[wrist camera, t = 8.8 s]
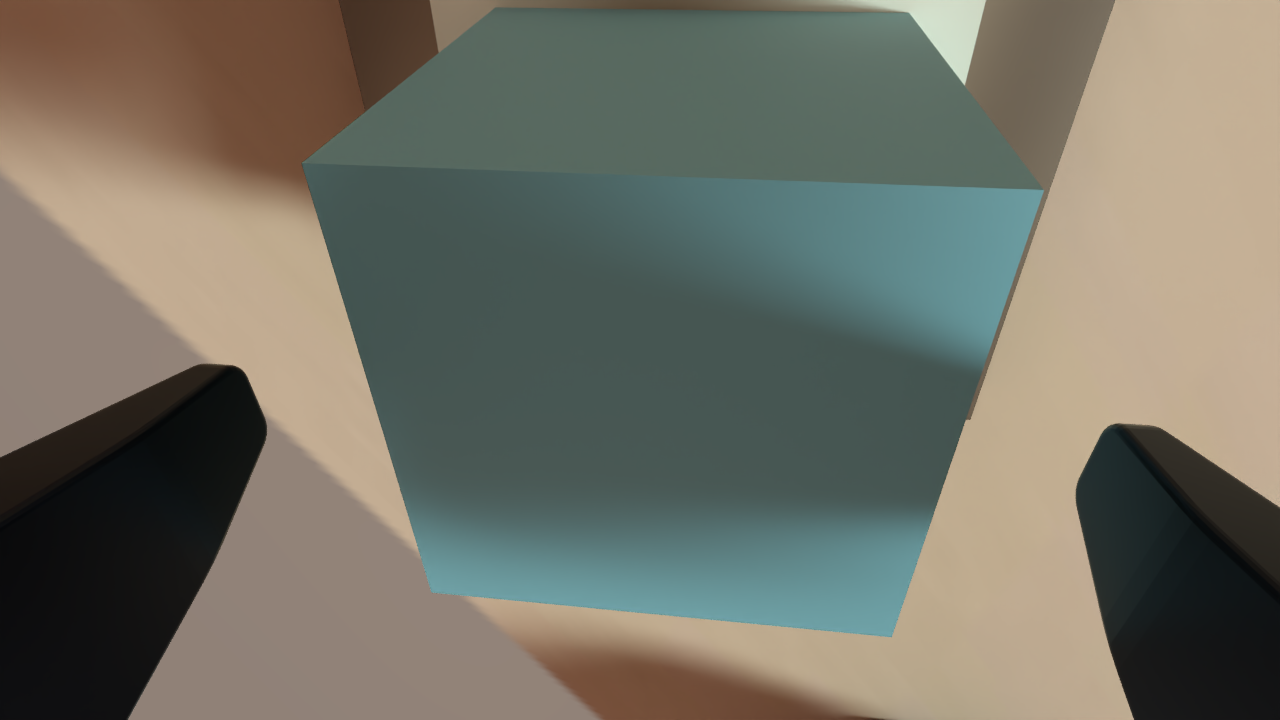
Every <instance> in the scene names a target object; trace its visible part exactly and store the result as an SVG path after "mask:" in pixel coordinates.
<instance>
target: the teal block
mask: <svg viewBox="0 0 1280 720" xmlns="http://www.w3.org/2000/svg"><path fill="white" fill-rule="evenodd" d="M302 167H303V170H304V173H305V176H306V180H307V183H308V186H309V190H310V193H311V196H312V200H313V203H314V206H315V209H316V213H317V216H318V219H319V223H320V226H321V229H322V232H323V236H324V239H325V242H326V246H327V249H328V252H329V256H330V259H331V262H332V265H333V269H334V272H335V275H336V279H337V282H338V285H339V289H340V292H341V295H342V298H343V302H344V305H345V308H346V312H347V315H348V318H349V322H350V325H351V328H352V331H353V335H354V338H355V341H356V345H357V348H358V351H359V355H360V358H361V361H362V364H363V368H364V371H365V374H366V378H367V381H368V384H369V388H370V391H371V394H372V397H373V401H374V404H375V407H376V411H377V414H378V417H379V421H380V424H381V427H382V430H383V434H384V437H385V440H386V444H387V447H388V450H389V454H390V457H391V460H392V463H393V467H394V470H395V473H396V477H397V480H398V483H399V486H400V490H401V493H402V496H403V500H404V503H405V506H406V510H407V513H408V516H409V519H410V523H411V526H412V529H413V533H414V536H415V539H416V543H417V546H418V549H419V552H420V556H421V559H422V562H423V566H424V569H425V572H426V576H427V579H428V582H429V585H430V589H431V592H434V593H443V594H454V595H463V596H473V597H484V598H494V599H504V600H515V601H525V602H535V603H545V604H556V605H566V606H576V607H587V608H597V609H607V610H617V611H628V612H638V613H648V614H659V615H669V616H679V617H689V618H700V619H710V620H720V621H731V622H741V623H751V624H761V625H772V626H782V627H792V628H803V629H813V630H823V631H833V632H844V633H854V634H864V635H875V636H885V637H892V634H893V631H894V628H895V626H896V623H897V620H898V617H899V614H900V611H901V608H902V605H903V602H904V599H905V596H906V593H907V590H908V587H909V584H910V582H911V579H912V576H913V573H914V570H915V567H916V564H917V561H918V558H919V555H920V552H921V549H922V546H923V543H924V541H925V538H926V535H927V532H928V529H929V526H930V523H931V520H932V517H933V514H934V511H935V508H936V505H937V502H938V500H939V497H940V494H941V491H942V488H943V485H944V482H945V479H946V476H947V473H948V470H949V467H950V464H951V461H952V459H953V456H954V453H955V450H956V447H957V444H958V441H959V438H960V435H961V432H962V429H963V426H964V423H965V420H966V417H967V415H968V412H969V409H970V406H971V403H972V400H973V397H974V394H975V391H976V388H977V385H978V382H979V379H980V376H981V374H982V371H983V368H984V365H985V362H986V359H987V356H988V353H989V350H990V347H991V344H992V341H993V338H994V335H995V333H996V330H997V327H998V324H999V321H1000V318H1001V315H1002V312H1003V309H1004V306H1005V303H1006V300H1007V297H1008V294H1009V292H1010V289H1011V286H1012V283H1013V280H1014V277H1015V274H1016V271H1017V268H1018V265H1019V262H1020V259H1021V256H1022V253H1023V250H1024V248H1025V245H1026V242H1027V239H1028V236H1029V233H1030V230H1031V227H1032V224H1033V221H1034V218H1035V215H1036V212H1037V209H1038V207H1039V204H1040V201H1041V198H1042V195H1043V192H1044V189H1043V188H1042V187H1041V185H1040V184H1039V183H1038V181H1037V180H1036V179H1035V177H1034V176H1033V175H1032V173H1031V172H1030V171H1029V170H1028V168H1027V167H1026V166H1025V164H1024V163H1023V162H1022V160H1021V159H1020V158H1019V156H1018V155H1017V154H1016V152H1015V151H1014V150H1013V148H1012V147H1011V146H1010V145H1009V143H1008V142H1007V141H1006V139H1005V138H1004V137H1003V135H1002V134H1001V133H1000V131H999V130H998V129H997V127H996V126H995V125H994V124H993V122H992V121H991V120H990V118H989V117H988V116H987V114H986V113H985V112H984V110H983V109H982V108H981V106H980V105H979V104H978V103H977V101H976V100H975V99H974V97H973V96H972V95H971V93H970V92H969V91H968V89H967V88H966V87H965V85H964V84H963V83H962V82H961V80H960V79H959V78H958V76H957V75H956V74H955V72H954V71H953V70H952V68H951V67H950V66H949V64H948V63H947V62H946V60H945V59H944V58H943V57H942V55H941V54H940V53H939V51H938V50H937V49H936V47H935V46H934V45H933V43H932V42H931V41H930V39H929V38H928V37H927V36H926V34H925V33H924V32H923V30H922V29H921V28H920V26H919V25H918V24H917V22H916V21H915V20H914V18H913V17H912V16H911V15H910V13H891V12H814V11H736V10H659V9H581V8H504V7H495V8H494V9H493V10H492V11H490V12H489V13H488V14H487V15H485V16H484V17H483V18H482V19H480V20H479V21H478V22H477V23H475V24H474V25H473V26H472V27H470V28H469V29H468V30H467V31H465V32H464V33H463V34H462V35H460V36H459V37H458V38H457V39H456V40H454V41H453V42H452V43H451V44H449V45H448V46H447V47H446V48H444V49H443V50H442V51H441V52H439V53H438V54H437V55H436V56H434V57H433V58H432V59H431V60H429V61H428V62H427V63H426V64H424V65H423V66H422V67H421V68H419V69H418V70H417V71H416V72H414V73H413V74H412V75H411V76H409V77H408V78H407V79H406V80H404V81H403V82H402V83H401V84H399V85H398V86H397V87H396V88H395V89H393V90H392V91H391V92H390V93H388V94H387V95H386V96H385V97H383V98H382V99H381V100H380V101H378V102H377V103H376V104H375V105H373V106H372V107H371V108H370V109H368V110H367V111H366V112H365V113H363V114H362V115H361V116H360V117H358V118H357V119H356V120H355V121H353V122H352V123H351V124H350V125H348V126H347V127H346V128H345V129H343V130H342V131H341V132H340V133H338V134H337V135H336V136H335V137H333V138H332V139H331V140H330V141H329V142H327V143H326V144H325V145H324V146H322V147H321V148H320V149H319V150H317V151H316V152H315V153H314V154H312V155H311V156H310V157H309V158H307V159H306V160H305V161H304V162H302Z"/></svg>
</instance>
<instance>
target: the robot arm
mask: <svg viewBox="0 0 1280 720" xmlns="http://www.w3.org/2000/svg"><path fill="white" fill-rule="evenodd" d="M266 436H267V424H266V420H265V417H264V415H263V412H262V410H261V408H260V405H259V403H258V401H257V398H256V396H255V394H254V391H253V389H252V387H251V384H250V382H249V380H248V378H247V376H246V374H245V373H244V372H243V371H242V370H241V369H240V368H239V367H236V366H233V365H221V364H199V365H196V366H193V367H191V368H189V369H187V370H185V371H183V372H181V373H178V374H176V375H174V376H172V377H170V378H168V379H166V380H164V381H161V382H159V383H157V384H155V385H153V386H151V387H149V388H147V389H145V390H143V391H140V392H138V393H136V394H134V395H132V396H130V397H128V398H126V399H123V400H122V401H119V402H117V403H115V404H113V405H111V406H109V407H107V408H104V409H102V410H100V411H98V412H96V413H94V414H91V415H89V416H87V417H85V418H83V419H81V420H79V421H77V422H74V423H72V424H70V425H68V426H66V427H64V428H62V429H60V430H58V431H56V432H53V433H51V434H49V435H47V436H45V437H43V438H41V439H39V440H37V441H34V442H32V443H30V444H28V445H26V446H24V447H21V448H19V449H17V450H15V451H13V452H11V453H9V454H7V455H4V456H2V457H0V720H128V718H129V717H130V715H131V713H132V711H133V709H134V707H135V706H136V704H137V702H138V700H139V698H140V696H141V695H142V693H143V691H144V689H145V687H146V686H147V684H148V682H149V680H150V678H151V677H152V675H153V673H154V671H155V669H156V668H157V665H158V664H159V662H160V660H161V658H162V657H163V655H164V653H165V651H166V649H167V648H168V646H169V644H170V642H171V640H172V638H173V637H174V635H175V633H176V631H177V629H178V628H179V626H180V624H181V622H182V620H183V618H184V617H185V615H186V613H187V611H188V609H189V608H190V606H191V604H192V602H193V600H194V598H195V597H196V595H197V593H198V591H199V589H200V587H201V586H202V584H203V582H204V580H205V578H206V576H207V574H208V572H209V571H210V569H211V567H212V565H213V563H214V561H215V558H216V556H217V554H218V552H219V550H220V547H221V545H222V543H223V541H224V539H225V536H226V534H227V532H228V529H229V527H230V524H231V522H232V520H233V517H234V515H235V513H236V510H237V508H238V505H239V503H240V501H241V498H242V496H243V494H244V491H245V489H246V487H247V484H248V482H249V480H250V477H251V475H252V472H253V470H254V468H255V465H256V463H257V461H258V458H259V456H260V453H261V451H262V448H263V446H264V444H265V441H266ZM1076 506H1077V510H1078V515H1079V519H1080V524H1081V528H1082V533H1083V537H1084V541H1085V546H1086V550H1087V555H1088V559H1089V564H1090V568H1091V572H1092V577H1093V581H1094V586H1095V590H1096V595H1097V599H1098V603H1099V608H1100V612H1101V617H1102V621H1103V625H1104V629H1105V633H1106V637H1107V640H1108V644H1109V648H1110V651H1111V654H1112V657H1113V660H1114V663H1115V666H1116V669H1117V672H1118V675H1119V678H1120V681H1121V684H1122V687H1123V689H1124V692H1125V695H1126V698H1127V701H1128V704H1129V707H1130V709H1131V712H1132V715H1133V718H1134V720H1280V507H1278V506H1277V505H1275V504H1274V503H1272V502H1271V501H1269V500H1268V499H1266V498H1265V497H1263V496H1262V495H1260V494H1259V493H1257V492H1256V491H1254V490H1253V489H1251V488H1250V487H1248V486H1247V485H1245V484H1244V483H1242V482H1241V481H1239V480H1238V479H1236V478H1235V477H1233V476H1232V475H1230V474H1229V473H1227V472H1226V471H1224V470H1223V469H1221V468H1220V467H1218V466H1217V465H1215V464H1214V463H1212V462H1211V461H1209V460H1208V459H1206V458H1205V457H1203V456H1202V455H1200V454H1199V453H1197V452H1196V451H1194V450H1193V449H1191V448H1190V447H1189V446H1187V445H1186V444H1184V443H1183V442H1181V441H1180V440H1178V439H1177V438H1175V437H1174V436H1172V435H1171V434H1169V433H1168V432H1166V431H1164V430H1163V429H1161V428H1159V427H1156V426H1150V425H1136V424H1121V423H1118V424H1113V425H1110V426H1108V427H1107V428H1106V429H1105V430H1104V431H1103V433H1102V434H1101V436H1100V438H1099V440H1098V442H1097V444H1096V446H1095V448H1094V450H1093V452H1092V454H1091V456H1090V458H1089V460H1088V462H1087V464H1086V466H1085V468H1084V470H1083V472H1082V474H1081V476H1080V478H1079V480H1078V483H1077V487H1076Z"/></svg>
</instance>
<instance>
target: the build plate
mask: <svg viewBox="0 0 1280 720" xmlns="http://www.w3.org/2000/svg"><path fill="white" fill-rule="evenodd" d="M1114 2H1115V0H339V3H340V7H341V11H342V16H343V20H344V24H345V28H346V32H347V37H348V41H349V45H350V49H351V53H352V58H353V62H354V66H355V70H356V74H357V79H358V83H359V87H360V91H361V95H362V100H363V104H364V108H365V112H366V111H367V110H368V109H370V108H371V107H372V106H373V105H375V104H376V103H377V102H378V101H380V100H381V99H382V98H383V97H385V96H386V95H387V94H388V93H390V92H391V91H392V90H393V89H395V88H396V87H397V86H398V85H399V84H401V83H402V82H403V81H404V80H406V79H407V78H408V77H409V76H411V75H412V74H413V73H414V72H416V71H417V70H418V69H419V68H421V67H422V66H423V65H424V64H426V63H427V62H428V61H429V60H431V59H432V58H433V57H434V56H436V55H437V54H438V53H439V52H441V51H442V50H443V49H444V48H446V47H447V46H448V45H449V44H451V43H452V42H453V41H454V40H456V39H457V38H458V37H459V36H460V35H462V34H463V33H464V32H465V31H467V30H468V29H469V28H470V27H472V26H473V25H474V24H475V23H477V22H478V21H479V20H480V19H482V18H483V17H484V16H485V15H487V14H488V13H489V12H490V11H492V10H493V9H494V8H495V7H504V8H581V9H659V10H736V11H814V12H891V13H910V15H911V16H912V17H913V18H914V20H915V21H916V22H917V24H918V25H919V26H920V28H921V29H922V30H923V32H924V33H925V34H926V36H927V37H928V38H929V39H930V41H931V42H932V43H933V45H934V46H935V47H936V49H937V50H938V51H939V53H940V54H941V55H942V57H943V58H944V59H945V60H946V62H947V63H948V64H949V66H950V67H951V68H952V70H953V71H954V72H955V74H956V75H957V76H958V78H959V79H960V80H961V82H962V83H963V84H964V85H965V87H966V88H967V89H968V91H969V92H970V93H971V95H972V96H973V97H974V99H975V100H976V101H977V103H978V104H979V105H980V106H981V108H982V109H983V110H984V112H985V113H986V114H987V116H988V117H989V118H990V120H991V121H992V122H993V124H994V125H995V126H996V127H997V129H998V130H999V131H1000V133H1001V134H1002V135H1003V137H1004V138H1005V139H1006V141H1007V142H1008V143H1009V145H1010V146H1011V147H1012V148H1013V150H1014V151H1015V152H1016V154H1017V155H1018V156H1019V158H1020V159H1021V160H1022V162H1023V163H1024V164H1025V166H1026V167H1027V168H1028V170H1029V171H1030V172H1031V173H1032V175H1033V176H1034V177H1035V179H1036V180H1037V181H1038V183H1039V184H1040V185H1041V187H1042V188H1043V189H1044V192H1043V195H1042V198H1041V201H1040V204H1039V207H1038V209H1037V212H1036V215H1035V218H1034V221H1033V224H1032V227H1031V230H1030V233H1029V236H1028V239H1027V242H1026V245H1025V248H1024V250H1023V253H1022V256H1021V259H1020V262H1019V265H1018V268H1017V271H1016V274H1015V277H1014V280H1013V283H1012V286H1011V289H1010V292H1009V294H1008V297H1007V300H1006V303H1005V306H1004V309H1003V312H1002V315H1001V318H1000V321H999V324H998V327H997V330H996V333H995V335H994V338H993V341H992V344H991V347H990V350H989V353H988V356H987V359H986V362H985V365H984V368H983V371H982V374H981V376H980V379H979V382H978V385H977V388H976V391H975V394H974V397H973V400H972V403H971V406H970V409H969V412H968V415H967V417H966V420H970V419H971V416H972V413H973V410H974V407H975V404H976V402H977V399H978V396H979V393H980V390H981V387H982V384H983V381H984V378H985V376H986V373H987V370H988V367H989V364H990V361H991V358H992V355H993V352H994V349H995V347H996V344H997V341H998V338H999V335H1000V332H1001V329H1002V326H1003V323H1004V321H1005V318H1006V315H1007V312H1008V309H1009V306H1010V303H1011V300H1012V297H1013V294H1014V292H1015V289H1016V286H1017V283H1018V280H1019V277H1020V274H1021V271H1022V268H1023V266H1024V263H1025V260H1026V257H1027V254H1028V251H1029V248H1030V245H1031V242H1032V239H1033V237H1034V234H1035V231H1036V228H1037V225H1038V222H1039V219H1040V216H1041V213H1042V210H1043V208H1044V205H1045V202H1046V199H1047V196H1048V193H1049V190H1050V187H1051V184H1052V182H1053V179H1054V176H1055V173H1056V170H1057V167H1058V164H1059V161H1060V158H1061V155H1062V153H1063V150H1064V147H1065V144H1066V141H1067V138H1068V135H1069V132H1070V129H1071V127H1072V124H1073V121H1074V118H1075V115H1076V112H1077V109H1078V106H1079V103H1080V100H1081V98H1082V95H1083V92H1084V89H1085V86H1086V83H1087V80H1088V77H1089V74H1090V72H1091V69H1092V66H1093V63H1094V60H1095V57H1096V54H1097V51H1098V48H1099V45H1100V43H1101V40H1102V37H1103V34H1104V31H1105V28H1106V25H1107V22H1108V19H1109V16H1110V14H1111V11H1112V8H1113V5H1114Z"/></svg>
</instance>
